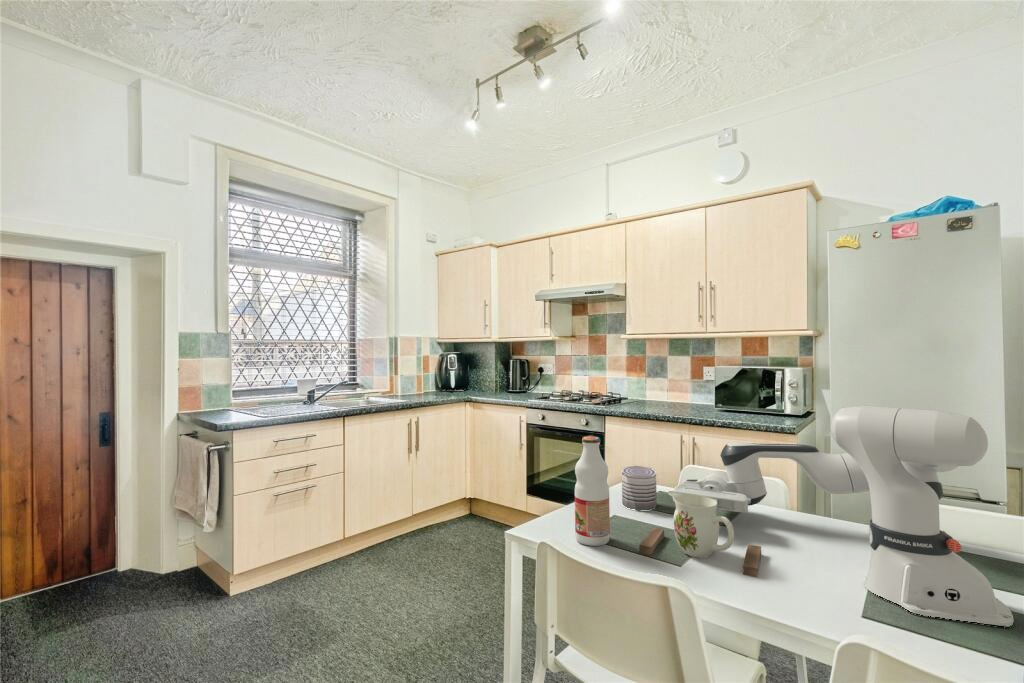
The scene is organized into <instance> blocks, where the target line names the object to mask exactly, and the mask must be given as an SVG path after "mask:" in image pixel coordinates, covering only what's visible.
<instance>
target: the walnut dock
mask: <svg viewBox="0 0 1024 683" xmlns="http://www.w3.org/2000/svg"><path fill="white" fill-rule="evenodd" d="M663 537H664V538H665V529H664V528H661V527H660V528H659V527H652V529H651V530H650V531H649V532H648V533H647V534H646V536H645V537H644V538H643V540H642V541H641V542H639V546H638V547H639V551H638V552H639V554H643V555H649V556H652V555H653V553H654V552H655V550H656V549H657V548H656V547H658V546H659V545H660V543H662V541H663V539H664V538H663ZM662 538H663V539H662ZM661 540H662V541H661ZM658 544H659V545H658ZM745 551H746V552H745V555H744V558H743V563H742V574H743V575H745V576H750V577H754V578H759V577H758V576H759V571H760V565H761V559H762V546H760V545H754V544H750V543H747V547H746V550H745ZM651 554H652V555H651Z"/></svg>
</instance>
